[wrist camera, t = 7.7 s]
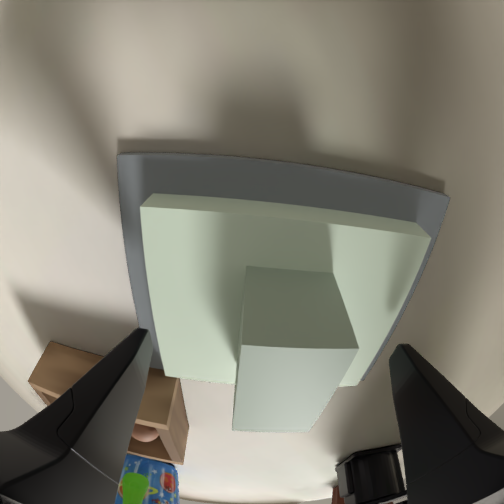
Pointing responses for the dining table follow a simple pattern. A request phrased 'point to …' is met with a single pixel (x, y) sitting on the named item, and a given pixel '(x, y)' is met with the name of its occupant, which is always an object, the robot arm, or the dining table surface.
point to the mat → (261, 189)
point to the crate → (150, 411)
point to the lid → (274, 298)
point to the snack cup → (147, 482)
